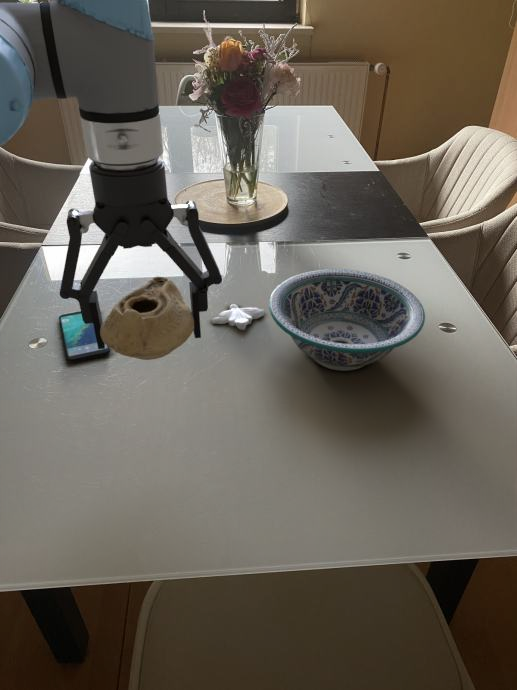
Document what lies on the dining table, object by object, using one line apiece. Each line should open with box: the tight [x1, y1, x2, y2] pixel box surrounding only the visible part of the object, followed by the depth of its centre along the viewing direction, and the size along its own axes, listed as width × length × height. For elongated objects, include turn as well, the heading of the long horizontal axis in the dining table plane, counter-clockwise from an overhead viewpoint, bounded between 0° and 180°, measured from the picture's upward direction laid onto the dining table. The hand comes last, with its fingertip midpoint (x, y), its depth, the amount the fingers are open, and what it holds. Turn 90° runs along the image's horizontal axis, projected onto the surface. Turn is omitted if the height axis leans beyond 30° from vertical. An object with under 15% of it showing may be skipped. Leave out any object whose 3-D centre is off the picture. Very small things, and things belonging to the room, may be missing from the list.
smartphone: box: [58, 310, 111, 363], centre depth 95 cm, size 7×1×15 cm
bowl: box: [268, 268, 426, 372], centre depth 90 cm, size 25×25×10 cm
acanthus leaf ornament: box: [212, 303, 265, 331], centre depth 100 cm, size 8×7×2 cm
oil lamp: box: [100, 275, 194, 361], centre depth 65 cm, size 11×15×8 cm
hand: (149, 337), depth 67 cm, fingers closed on oil lamp, 11 cm apart
